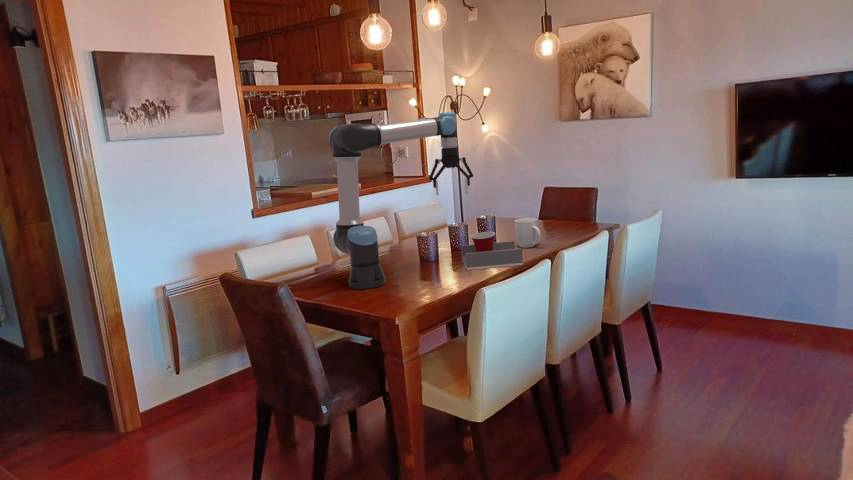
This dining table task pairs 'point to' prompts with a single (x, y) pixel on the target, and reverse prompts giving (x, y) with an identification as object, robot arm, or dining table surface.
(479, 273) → the dining table surface
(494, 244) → the dock
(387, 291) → the dining table surface
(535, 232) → the mug
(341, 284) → the dining table surface
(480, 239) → the plastic cup
